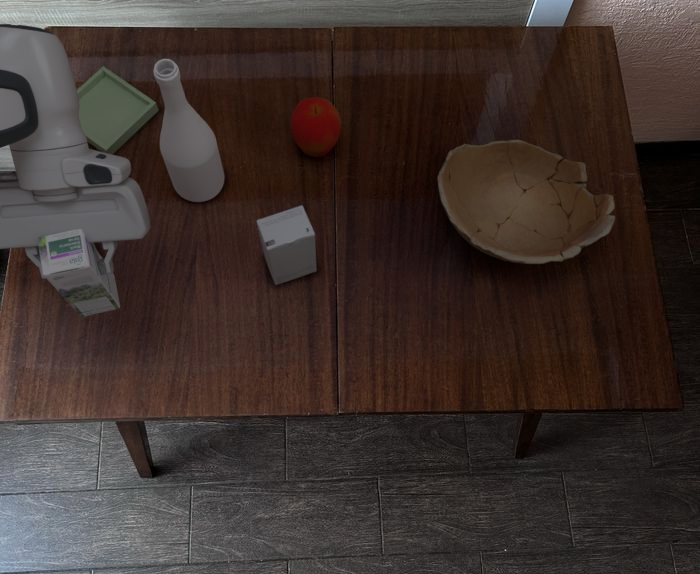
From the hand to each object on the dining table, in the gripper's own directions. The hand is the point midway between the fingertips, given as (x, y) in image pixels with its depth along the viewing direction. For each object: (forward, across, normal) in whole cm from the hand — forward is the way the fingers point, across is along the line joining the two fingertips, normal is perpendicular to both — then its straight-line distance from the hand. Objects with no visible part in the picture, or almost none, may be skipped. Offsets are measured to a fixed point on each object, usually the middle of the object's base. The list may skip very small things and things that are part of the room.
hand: (79, 275), depth 92 cm
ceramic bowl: (+7, +68, +33) cm, 76 cm away
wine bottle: (-3, +12, +42) cm, 44 cm away
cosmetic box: (+11, +27, +29) cm, 41 cm away
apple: (-7, +34, +46) cm, 58 cm away
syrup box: (+6, 0, +6) cm, 9 cm away
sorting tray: (-14, -5, +53) cm, 55 cm away
